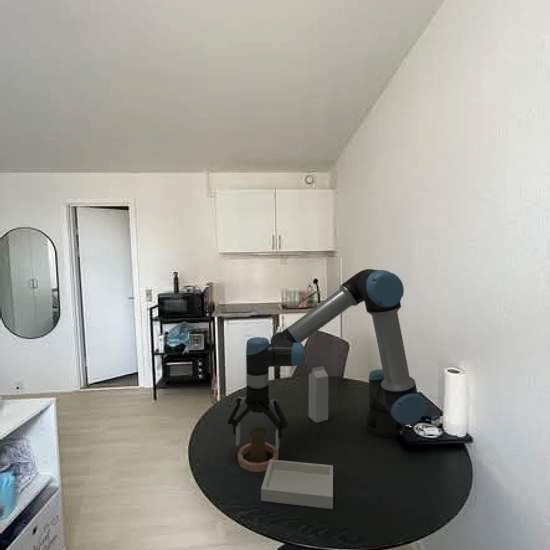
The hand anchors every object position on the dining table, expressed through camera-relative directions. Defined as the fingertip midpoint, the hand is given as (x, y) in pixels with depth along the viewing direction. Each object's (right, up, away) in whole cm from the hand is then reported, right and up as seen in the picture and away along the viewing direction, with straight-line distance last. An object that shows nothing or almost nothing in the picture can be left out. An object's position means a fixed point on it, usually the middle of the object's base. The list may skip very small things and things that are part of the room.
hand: (257, 445), depth 116 cm
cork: (0, -5, 0) cm, 5 cm away
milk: (+24, -3, +29) cm, 38 cm away
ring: (0, -5, 0) cm, 5 cm away
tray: (+13, -6, -14) cm, 20 cm away
